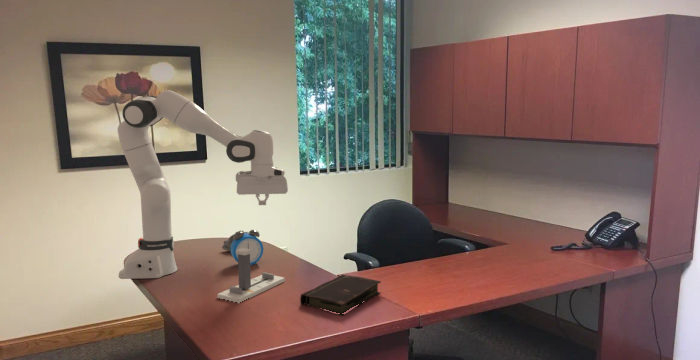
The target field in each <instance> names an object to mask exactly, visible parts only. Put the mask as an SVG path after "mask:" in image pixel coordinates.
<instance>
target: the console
mask: <svg viewBox="0 0 700 360" xmlns="http://www.w3.org/2000/svg"><path fill="white" fill-rule="evenodd" d="M285 281H286V279H285V277H283V276H279V275H275V274H274V273H270V272H265V271H263V272H262V273H261V274H260V275H259V276H256V277H254V278H251V287H250V288H248V289H246V290H244V289H242V288H239V284H238V285H235V286H234V285H233V286H232V285H231V286H229V289H226V290H224V291H222V292H219V293H217V299H219V298H220V300H223V299H225V300H224V301H227V300H229V301H228V302H231V301H233V302H232V303H235V302H237V303H236V304H241V303H242V301H243V302H244V300H245V301H247V300H249V299H251V298H253V297H255V296H257V295H259V294H261V293H263V292H265V291H268V290H270V289H272V288H274V287H276V286H278V285H280V284H282V283H284V282H285ZM248 298H249V299H248ZM246 299H247V300H246ZM240 302H241V303H240Z"/></svg>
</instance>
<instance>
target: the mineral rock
mask: <svg viewBox="0 0 700 360" xmlns="http://www.w3.org/2000/svg"><path fill="white" fill-rule="evenodd" d="M241 231H242V232H243V233H244V234H245V232H246V231H244V230H241ZM247 232H248V233H249V231H247ZM249 234H250V233H249ZM233 236H234V234H232V235H231V236H229V238H228V239H226V240H224V241H223V245H222V246H221V248H222V249H223V250H225V251H229V252H231V244H232V242H233V240H234V239H233Z"/></svg>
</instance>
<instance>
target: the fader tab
mask: <svg viewBox="0 0 700 360" xmlns="http://www.w3.org/2000/svg"><path fill="white" fill-rule="evenodd" d="M250 253H252V250H250V249H244V248H242V249H239V250H236V254H238V262H237V268H238V285H239V288H242V289H244V290H246V289H248V288H250V287H251V279H252V277H251V265H250Z"/></svg>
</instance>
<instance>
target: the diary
mask: <svg viewBox="0 0 700 360" xmlns="http://www.w3.org/2000/svg"><path fill="white" fill-rule="evenodd" d="M380 283H382V281H381V280H377V279H371V278H367V277H362V276H357V275H356V276H355V275H349V274H348V275H347V274H340V275H339V276H337V277H335V278H332V279H331V280H328V281H326V282H324V283H322V284H320V285H317V286H316V287H315V288H312V289H310V290H307V291H305V292H302V293H301V294H300V298H299V300H300V302H299V303H300V306H304V305H305V304H306V306H307V305H308V304H309V305H308V306H309V307H311V306H314V307H313V308H315V307H318V308H317V309H319V308H322V309H326V310H329V311H332V312H336V313H340V314H339V315H338V316H340V315H341V316H345V315H344V314H342V313H344V312H346V311H347V310H349V309H350V308H352V307H354V306H356V305H358V304H359V305H360V306H362V305H364V304H365V302H363V301H366V300H367V301H366V303H367V302H368V300H370V299H372V298H375V297H377V296H379V295H381V294H382V292H379V291H378V286H379V284H380ZM362 302H363V303H364V304H363V303H362ZM304 303H305V304H304ZM361 304H362V305H361ZM359 305H358V306H359ZM360 306H359V307H360ZM322 309H321V310H322Z"/></svg>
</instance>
